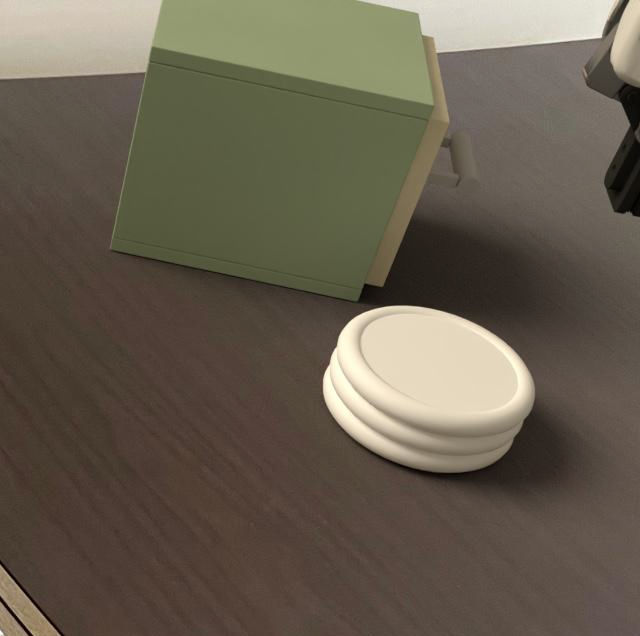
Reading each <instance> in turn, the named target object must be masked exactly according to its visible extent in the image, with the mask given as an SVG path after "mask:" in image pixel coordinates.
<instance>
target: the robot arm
mask: <svg viewBox="0 0 640 636" xmlns="http://www.w3.org/2000/svg"><path fill="white" fill-rule="evenodd" d="M581 74H582V76H583V79H584V82H585V84H586V86H587V87H588V88H589V89H591V90H593V91H595V92H597V93H598V94H601V95H603V96H605V97H607V98H608V99H611V100H615V101H617V102H619V103H620V104H621V106H622V109H623V111H624V114H625V116H626V119H627V120H628V124H629V127H628V129H627V131H626V133H625V135H624V137H623V139H622V140H621V143H620V144H619V146H618V148H617V150H616V152H615V154H614V156H613V158H612V160H611V162H610V164H609V166H608V168H607V169H606V172H605V175H604V179H603V185H604V188H605V190H606V194H607V196H608V199H609V203H610V205H611V207H612V211H613V213H617V214H622V215H625V214H626V213H629V214H631V216H633V217H637V218H640V0H615V1H614V3H613V5H612V8H611V10H610V12H609V14H608V16H607V19H606V22H605V24H604V26H603V29H602V34H601V43H600V45H598V47H597V48H596V50H595V51H594V53H593V54H592V55H591V57H590V58H589V59H588V61H587V62H586V63H585V64H584V66H583V68H582V73H581Z"/></svg>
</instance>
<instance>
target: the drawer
mask: <svg viewBox="0 0 640 636" xmlns="http://www.w3.org/2000/svg"><path fill="white" fill-rule="evenodd" d="M422 37H423V43H424V48H425V54H426V60H427V65H428V71H429V77H430V83H431V88H432V94H433V100H434V109H433V111H432V114H431V116H430V119H429V120H428V124H427V126H426V129H425V131H424V134H423V136H422V139H421V141H420V144H419V146H418V149H417V152H416V154H415V157H414V159H413V162H412V164H411V167H410V169H409V172H408V174H407V177H406V179H405V182H404V185H403V187H402V190H401V192H400V195H399V197H398V200H397V202H396V205H395V207H394V210H393V212H392V215H391V217H390V220H389V223H388V225H387V228H386V230H385V233H384V235H383V238H382V240H381V243H380V245H379V248H378V250H377V253H376V256H375V258H374V261H373V263H372V266H371V268H370V271H369V273H368V276H367V278H366V281H365V283H364V285H365V284H366V285H369V286H375V287H381V288H383V287H384V285H385V283H386V279H387V278H388V275H389V272H390V270H391V268H392V266H393V263H394V260H395V258H396V256H397V253H398V251H399V248H400V246H401V243H402V242H403V239H404V236H405V234H406V231H407V229H408V227H409V224H410V223H411V222H410V221H411V219H412V216H413V214H414V212H415V209H416V207H417V204H418V202H419V200H420V197H421V195H422V193H423V190H424V188H425V185H426V183H429V184H432V185H433V184H434V185H437V186H443V187H447V188H452V189H456V193H457V194H458V195H459V196H460V197H462V198H471V197H473V196H475V195H477V193H478V192H479V190H480V187H481V184H480V178H479V174H478V169H477V164H476V160H475V155H474V149H473V146H472V141H471V137H470V133H468V131H466V130H462V129H458V130H455V131H454V132H452V133H451V134H450V133H447V131H448V128H449V126H450V124H451V121H450V117H449V111H448V105H447V101H446V100H447V99H446V96H445V91H444V84H443V80H442V74H441V70H440V63H439V59H438V53H437V48H436V43H435V39H434V37H433V36H429V35H424V34H422ZM440 148H446V149H448V148H449V154H450V159H451V160H450V161H451V165H452V170H453V172H451V171H445V170H440V169H436V168H433V166H434V163H435V160H436V158H437V155H438V153H439V150H440Z"/></svg>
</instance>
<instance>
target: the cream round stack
mask: <svg viewBox="0 0 640 636" xmlns="http://www.w3.org/2000/svg"><path fill="white" fill-rule="evenodd" d="M322 393H323V394H322V395H323V400H324V402H325V404H326V407H327V409H328V411H329V412H330V414H331V416H332V418H334V420H335V421H336V423H337V424H338V425H339V426H340V427H341V428H342V430H344V431H345V433H347V434H348V435H349V436H350V437H351V438H352V439H353V440H354V441H355V442H357V443H358V444H360V446H363V447H364V448H366V449H368V450H369V451H370V452H372V453H374V454H375V455H378V456H380V457H382V458H383V459H386V460H389V461H391V462H394V463H395V464H397V465H401V466H405V467H408V468H411V469H415V470H420V471H423V472H430V473H441V474H442V473H443V474H453V473H454V474H455V473H467V472H474V471H477V470H482V469H485V468H486V467H489V466H491V465H492V464H494V463H496V462H497V461H499V460H500V459H501V458H502V457H503V456H505V454H506V453H507V452H509V450H510V448H511V446H512V445H513V443H514V439H515V437H516V436H517V435H518V433H520V431H521V429H522V427H523V425H524V421H525V419H526V418H527V417H528V416H529V415H530V413H531V411H532V410H533V407H534V402H535V398H536V387H535V382H534V379H533V377H532V374H531V372H530V370H529V369H528V367H527V366H526V364H525V362H524V361H523V359H522V358H521V357H520V355H519V354H518V353H517V352H516V351H515V350H514V349H513V347H511V346H510V345H509V344H507V342H506V341H504V340H503V339H501V337H499V336H497V335H496V334H494V333H493V332H491V331H490V330H488V329H486V328H485V327H483V326H481V325H479V324H477V323H475V322H473V321H471V320H468V319H466V318H463V317H461V316H458V315H456V314H452V313H449V312H447V311H444V310H443V311H442V310H438V309H435V308H429V307H423V306H416V305H415V306H414V305H390V306H389V305H388V306H383V307H377V308H374V309H370V310H368V311H364V312H363V313H361V314H360V313H359V314H358V315H356V316H355V317H354V318H352V319H351V320H349V322H348V323H347V324H346V325H345V326H344V328H343V329H342V330H341V332H340V334H339V336H338V339H337V342H336V347H335V348H334V350H333V352H332V354H331V357H330V361H329V365H328V366H327V368H326V369H325V372H324V375H323V379H322Z"/></svg>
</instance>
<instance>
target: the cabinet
mask: <svg viewBox="0 0 640 636" xmlns="http://www.w3.org/2000/svg"><path fill="white" fill-rule="evenodd" d="M422 35H423V33H422V26H421V20H420V15H419V12H415V11H410V10H405V9H400V8H396V7H391V6H387V5H383V4H382V5H381V4H376V3H371V2H367V1H362V0H161V3H160V7H159V12H158V15H157V20H156V24H155V28H154V32H153V37H152V42H151V45H150V50H149V56H148V59H147V65H146V71H145V75H144V79H143V84H142V90H141V95H140V99H139V104H138V110H137V114H136V119H135V122H134V123H135V124H134V128H133V132H132V133H133V134H132V138H131V143H130V148H129V153H128V158H127V162H126V168H125V171H124V172H125V173H124V178H123V183H122V186H121V187H122V188H121V192H120V197H119V201H118V207H117V211H116V216H115V223H114V226H113V231H112V236H111V242H110V246H109V250H110V251H113V252H118V253H119V252H120V253H122V254H123V253H124V254H128V255H133V256H138V257H143V258H147V259H152V260H155V261H156V260H157V261H161V262H166V263H170V264H175V265H181V266H185V267H189V268H194V269H199V270H204V271H208V272H213V273H218V274H223V275H227V276H232V277H238V278H242V279H246V280H251V281H255V282H259V283H265V284H271V285H275V286H279V287H284V288H289V289H294V290H299V291H302V292H308V293H312V294H313V293H314V294H318V295H323V296H327V297H332V298H336V299H341V300H346V301H351V302H356V303H357V302H359V299H360V296H361V294H362V291H363V288H364V286H365V281H366V278H367V276H368V273H369V271H370V268H371V266H372V263H373V261H374V258H375V256H376V253H377V250H378V248H379V245H380V243H381V240H382V238H383V235H384V233H385V230H386V228H387V225H388V223H389V220H390V217H391V215H392V212H393V210H394V207H395V205H396V202H397V200H398V197H399V195H400V192H401V190H402V187H403V185H404V182H405V179H406V177H407V174H408V172H409V169H410V167H411V164H412V162H413V159H414V157H415V154H416V152H417V149H418V146H419V144H420V141H421V139H422V136H423V134H424V131H425V129H426V126H427V124H428V120H429V119H430V116H431V114H432V111H433V109H434V100H433V94H432V88H431V83H430V77H429V71H428V65H427V60H426V54H425V48H424V43H423V37H422Z"/></svg>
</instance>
